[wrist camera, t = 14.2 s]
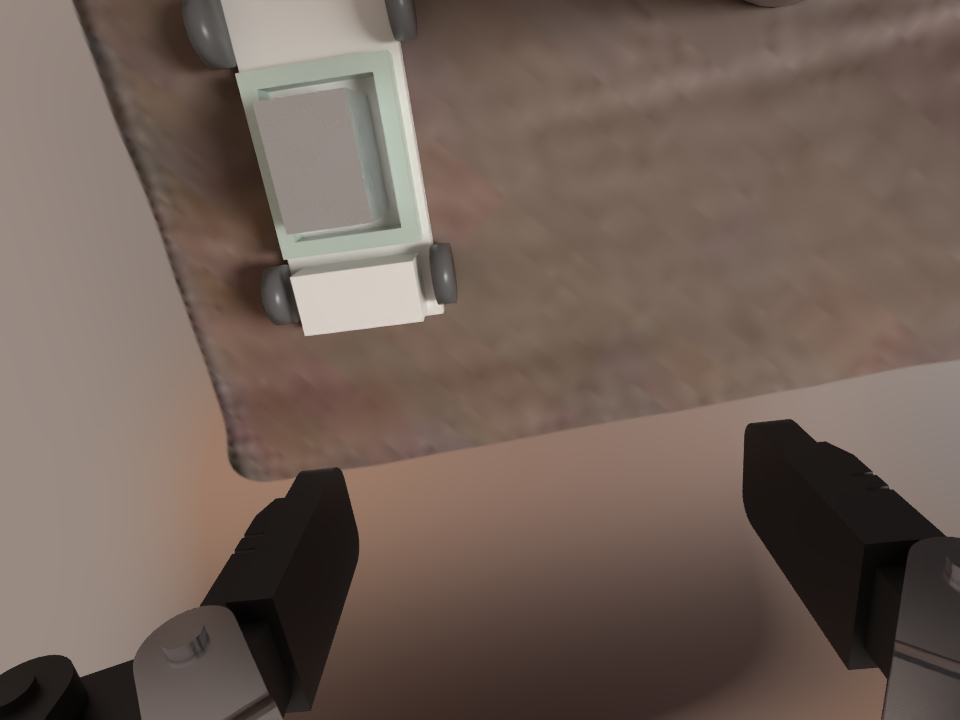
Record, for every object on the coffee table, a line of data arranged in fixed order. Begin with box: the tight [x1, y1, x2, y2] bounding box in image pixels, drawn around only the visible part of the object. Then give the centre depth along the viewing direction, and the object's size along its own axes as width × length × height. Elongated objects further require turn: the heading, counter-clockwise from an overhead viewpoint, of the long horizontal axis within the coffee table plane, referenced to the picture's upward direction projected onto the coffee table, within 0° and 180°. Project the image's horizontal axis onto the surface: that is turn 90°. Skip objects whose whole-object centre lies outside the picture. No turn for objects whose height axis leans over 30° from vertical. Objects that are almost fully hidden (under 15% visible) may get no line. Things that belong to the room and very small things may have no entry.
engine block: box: [252, 87, 390, 235], centre depth 34 cm, size 5×7×6 cm
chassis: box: [181, 0, 457, 336], centre depth 36 cm, size 12×22×4 cm, turn 8°
